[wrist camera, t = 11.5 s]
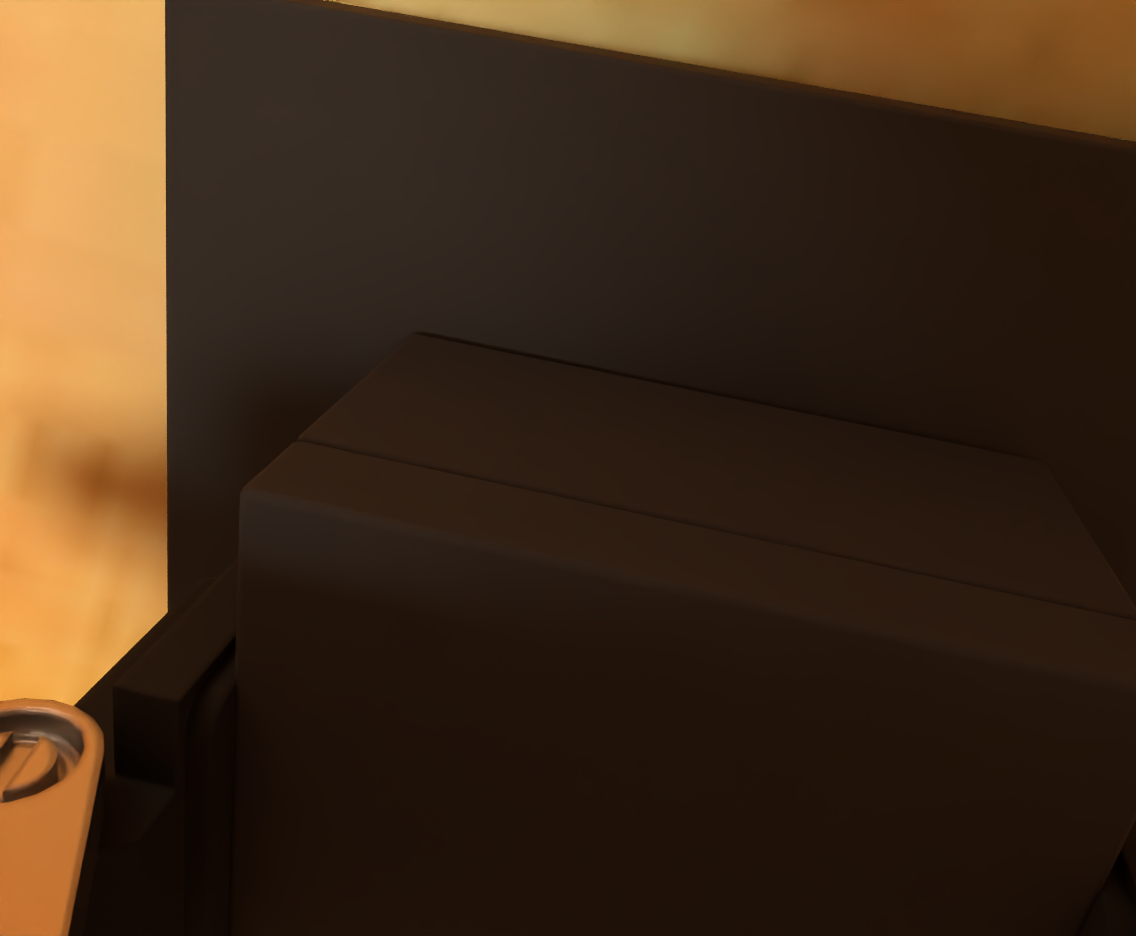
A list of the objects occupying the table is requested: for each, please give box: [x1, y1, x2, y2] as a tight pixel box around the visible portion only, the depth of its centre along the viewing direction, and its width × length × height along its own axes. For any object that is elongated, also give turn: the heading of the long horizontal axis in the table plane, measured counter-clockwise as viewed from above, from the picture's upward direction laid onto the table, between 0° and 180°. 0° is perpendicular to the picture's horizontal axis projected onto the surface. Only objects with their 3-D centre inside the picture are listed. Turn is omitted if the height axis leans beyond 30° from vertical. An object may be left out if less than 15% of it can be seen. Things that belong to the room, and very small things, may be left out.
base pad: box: [165, 0, 1136, 612], centre depth 12 cm, size 12×12×3 cm
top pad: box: [228, 334, 1136, 936], centre depth 10 cm, size 6×6×4 cm
